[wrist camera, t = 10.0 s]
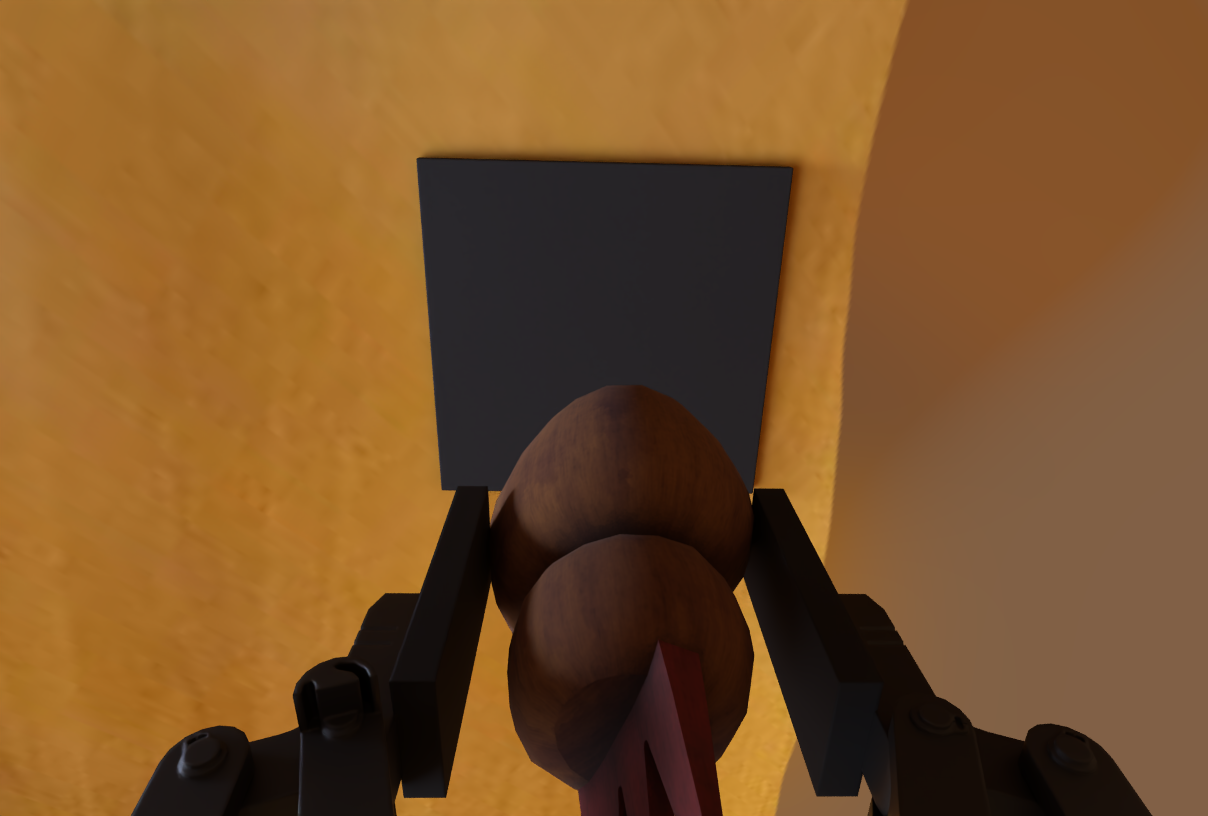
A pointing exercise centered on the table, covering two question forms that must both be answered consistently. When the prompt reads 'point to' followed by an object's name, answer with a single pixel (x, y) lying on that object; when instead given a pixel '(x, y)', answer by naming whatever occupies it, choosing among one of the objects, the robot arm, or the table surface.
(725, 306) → the mat
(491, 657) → the table surface
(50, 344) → the table surface
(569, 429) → the wooden figurine
